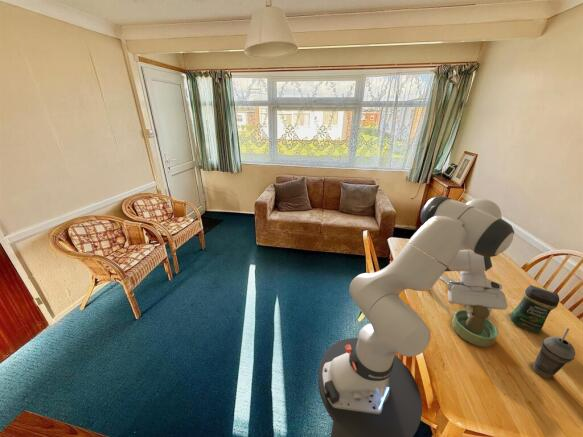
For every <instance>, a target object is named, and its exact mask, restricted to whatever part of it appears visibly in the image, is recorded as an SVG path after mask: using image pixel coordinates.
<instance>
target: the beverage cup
mask: <svg viewBox="0 0 583 437" xmlns="http://www.w3.org/2000/svg"><path fill="white" fill-rule="evenodd" d="M569 331H570V328H569V327H566V329H565V331H564V333H563V335H562V337H560V336H559V337H558V336H549V337H546V338H545V339H544V340H543V341H541V342H542V343H541V346H540V350H539V352H538V354H537V356H536V358H535V360H534V363H533V366H532V369H533V370H534V372H535V373H536V374H537V375H539V376H540V377H543V378H545V379H551V378H552V377H553V376H555V375H556V374H557V373H558V372H559V371H560V370H561V369H562V368H563V367H565V366H566V365H567V364H569V363H570V362H572V361H574V359H575V357H576V349H575V347H574V346H573V345H572V343H570V342H569V341H568V340H566V339H565V338H566V337H567V335H568V333H569Z"/></svg>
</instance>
